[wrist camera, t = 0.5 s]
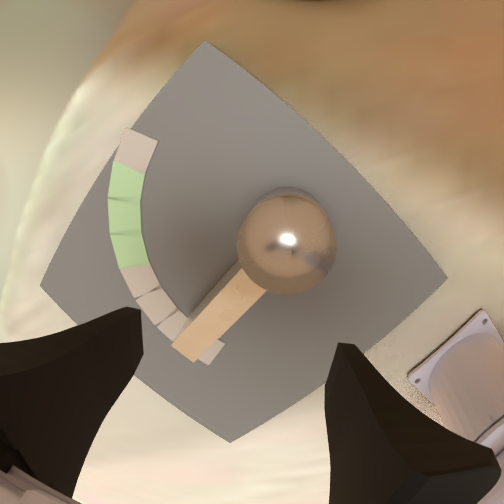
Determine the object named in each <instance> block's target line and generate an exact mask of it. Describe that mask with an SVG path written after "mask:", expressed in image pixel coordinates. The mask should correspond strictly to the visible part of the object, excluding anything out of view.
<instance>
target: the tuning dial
mask: <svg viewBox="0 0 504 504" xmlns="http://www.w3.org/2000/svg"><path fill="white" fill-rule="evenodd" d="M336 252H337V241H336V236H335V232H334V229H333V227H332V225H331V223H330V221H329V219H328V217H327V216H326V214H325V212H324V210H323V208H322V207H321V205H320V203H319V202H318V201H317V200H316V199H315V198H314V197H313V196H312V195H311V194H309V193H308V192H306V191H304V190H301V189H298V188H294V187H281V188H277V189H274V190H271V191H269V192H268V193H266V194H264V195H263V196H262V197H261V198H260V199H259V200H258V201H257V202H256V204H255V205H254V207H253V208H252V210H251V211H250V213H249V214H248V216H247V217H246V219H245V220H244V222H243V224H242V225H241V228H240V230H239V233H238V237H237V254H238V259H239V260H238V261H237V262H236V263H235V264H234V265H233V266H232V267H231V269H230V270H229V271H228V272H227V273H226V274H225V275H224V276H223V277H222V279H221V280H220V281H219V282H218V283H217V284H216V285H215V286H214V288H213V289H212V290H211V291H210V292H209V293H208V294H207V295H206V296H205V298H204V299H203V300H202V301H201V302H200V303H199V304H198V305H197V307H196V308H195V309H194V310H193V311H192V312H191V313H190V315H189V316H188V318H187V319H186V321H185V323H184V324H183V326H182V328H181V329H180V331H179V333H178V334H177V336H176V338H175V340H174V341H173V343H172V345H171V346H172V347H173V348H175V349H176V350H177V351H179V352H180V353H181V354H183V355H184V356H185V357H186V358H188V359H189V360H190V361H192V362H193V363H194V362H195V361H196V360H197V359H198V358H199V357H200V356H201V355H202V354H203V353H204V352H205V351H206V350H207V349H208V348H209V347H210V346H211V345H212V344H214V343H215V342H216V341H217V340H218V339H219V338H220V337H221V336H222V335H223V334H224V333H225V332H226V331H227V330H228V329H229V328H230V327H231V326H232V325H233V324H234V323H235V322H236V321H237V320H238V319H239V318H240V317H241V316H242V315H243V314H244V313H245V312H246V311H247V310H248V309H249V308H250V307H251V306H252V305H253V304H254V303H255V302H256V301H257V300H258V299H259V298H260V297H261V296H262V295H263V294H264V293H265V292H266V291H267V290H268V291H270V292H274V293H278V294H296V293H301V292H304V291H307V290H309V289H311V288H313V287H314V286H316V285H317V284H319V283H320V282H321V281H322V280H323V279H324V278H325V277H326V276H327V274H328V273H329V271H330V270H331V268H332V266H333V264H334V261H335V257H336Z"/></svg>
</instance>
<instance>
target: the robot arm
mask: <svg viewBox="0 0 504 504" xmlns="http://www.w3.org/2000/svg"><path fill="white" fill-rule="evenodd" d="M484 319H485V320H484ZM483 320H484V321H483ZM482 321H483V322H482ZM143 355H144V350H143V336H142V319H141V310H140V309H136V308H132V307H123V308H120V309H117V310H115V311H112V312H110V313H107V314H105V315H103V316H100V317H98V318H95V319H93V320H91V321H88V322H86V323H83V324H80V325H78V326H75V327H72V328H69V329H67V330H64V331H61V332H58V333H55V334H51V335H47V336H43V337H39V338H35V339H29V340H23V341H17V342H9V343H0V504H81V503H79V502H77V501H75V500H73V499H72V496H73V493H74V490H75V486H76V483H77V480H78V477H79V474H80V472H81V469H82V466H83V464H84V461H85V458H86V456H87V454H88V451H89V449H90V447H91V445H92V442H93V440H94V438H95V436H96V434H97V432H98V430H99V428H100V426H101V424H102V422H103V420H104V418H105V417H106V415H107V413H108V412H109V410H110V409H111V407H112V406H113V405H114V403H115V402H116V400H117V399H118V397H119V396H120V394H121V393H122V391H123V390H124V389H125V387H126V386H127V384H128V383H129V381H130V380H131V378H132V377H133V375H134V373H135V371H136V369H137V367H138V365H139V363H140V361H141V359H142V357H143ZM418 378H419V379H418ZM416 379H418V380H416ZM408 380H409V381H410V382H411V383H412V384H413V385H414V386H415V387H416V388H417V389H418V390H419V391H420V392H421V393H422V394H423V395H424V396H425V397H426V398H427V399H428V400H429V401H430V402H432V403H433V404H434V405H435V406H436V408H437V410H438V412H439V415H440V417H441V419H442V422H443V424H444V426H445V427H443V426H441V425H440V424H438V423H437V422H435V421H433V420H432V419H430V418H429V417H427V416H426V415H425V414H423V413H422V412H420V411H419V410H418V409H417V408H415V407H414V406H413V405H412V404H411V403H409V402H408V401H407V400H406V399H405V398H403V397H402V396H401V395H400V394H399V393H398V392H397V391H396V390H395V389H394V388H393V387H392V386H391V385H390V384H389V383H388V382H387V381H386V380H385V379H384V378H383V376H382V375H381V374H380V373H379V372H378V371H377V370H376V369H375V367H374V366H373V365H372V364H371V363H370V362H369V360H368V359H367V358H366V357H365V356H364V354H363V353H362V352H361V351H360V350H359V348H358V347H357V346H356V345H355V344H349V343H340V342H338V344H337V348H336V351H335V355H334V358H333V361H332V365H331V368H330V371H329V374H328V377H327V381H326V384H325V417H326V426H327V435H328V443H329V452H330V466H331V472H330V496H329V504H504V342H503V340H502V338H501V336H500V334H499V333H498V331H497V329H496V328H495V326H494V324H493V322H492V321H491V319H490V317H489V316H488V314H487V313H486V312H485V311H484V310H480V311H479V312H478V313H477V314H476V315H475V316H474V317H473V318H472V319H470V320H469V321H468V322H467V323H466V324H465V325H464V326H463V327H462V328H461V329H460V330H459V331H458V332H457V333H456V334H455V335H454V336H453V337H451V338H450V339H449V340H448V341H447V342H446V343H445V344H444V345H443V346H441V347H440V348H439V349H438V350H437V351H436V352H434V353H433V354H432V355H431V356H430V357H429V358H427V359H426V360H425V361H424V362H423V363H421V364H420V365H419V366H418V367H416V368H415V369H414V370H413V371H411V372H410V373H409V375H408Z"/></svg>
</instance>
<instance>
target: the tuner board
mask: <svg viewBox="0 0 504 504" xmlns="http://www.w3.org/2000/svg"><path fill="white" fill-rule="evenodd" d="M281 187H294V188H298V189H301V190H304V191H306V192H308V193H309V194H311V195H312V196H313V197H314V198H315V199H316V200H317V201H318V202H319V203H320V205H321V207H322V208H323V210H324V212H325V214H326V216H327V217H328V219H329V221H330V223H331V225H332V227H333V229H334V232H335V236H336V241H337V252H336V257H335V261H334V264H333V266H332V268H331V270H330V271H329V273H328V274H327V276H326V277H325V278H324V279H323V280H322V281H321V282H320V283H319V284H317V285H316V286H314V287H313V288H311V289H309V290H307V291H304V292H301V293H296V294H278V293H274V292H270V291H268V290H267V291H266V292H265V293H264V294H263V295H262V296H261V297H260V298H259V299H258V300H257V301H256V302H255V303H254V304H253V305H252V306H251V307H250V308H249V309H248V310H247V311H246V312H245V313H244V314H243V315H242V316H241V317H240V318H239V319H238V320H237V321H236V322H235V323H234V324H233V325H232V326H231V327H230V328H229V329H228V330H227V331H226V332H225V333H224V334H223V335H222V336H221V337H220V338H219V339H218V340H217V341H216V342H215V343H214V344H212V345H211V346H210V347H209V348H208V349H207V350H206V351H205V352H204V353H203V354H202V355H201V356H200V357H199V358H198V359H197V360H196V361H195V362H194V363H193V362H192V361H190V360H189V359H188V358H186V357H185V356H184V355H183V354H181V353H180V352H179V351H177V350H176V349H175V348H173V347H172V346H171V345H172V343H173V341H174V340H175V338H176V336H177V334H178V333H179V331H180V329H181V328H182V326H183V324H184V323H185V321H186V319H187V318H188V316H189V315H190V313H191V312H192V311H193V310H194V309H195V308H196V307H197V305H198V304H199V303H200V302H201V301H202V300H203V299H204V298H205V296H206V295H207V294H208V293H209V292H210V291H211V290H212V289H213V288H214V286H215V285H216V284H217V283H218V282H219V281H220V280H221V279H222V277H223V276H224V275H225V274H226V273H227V272H228V271H229V270H230V269H231V267H232V266H233V265H234V264H235V263H236V262H237V261H238V260H239V259H238V254H237V237H238V233H239V230H240V228H241V225H242V224H243V222H244V220H245V219H246V217H247V216H248V214H249V213H250V211H251V210H252V208H253V207H254V205H255V204H256V202H257V201H258V200H259V199H260V198H261V197H262V196H263V195H264V194H266V193H268V192H269V191H271V190H274V189H277V188H281ZM447 279H448V278H447V276H446V275H445V274H444V272H443V271H442V270H441V268H440V267H439V266H438V264H437V263H436V262H435V260H434V259H433V258H432V257H431V255H430V254H429V253H428V251H427V250H426V249H425V248H424V246H423V245H422V244H421V243H420V241H419V240H418V239H417V238H416V237H415V235H414V234H413V233H412V232H411V230H410V229H409V228H408V227H407V226H406V225H405V223H404V222H403V221H402V220H401V219H400V217H399V216H398V215H397V214H396V213H395V212H394V211H393V209H392V208H391V207H390V206H389V205H388V204H387V203H386V202H385V200H384V199H383V198H382V197H381V196H380V195H379V194H378V193H377V192H376V191H375V189H374V188H373V187H372V186H371V185H370V184H369V183H368V182H367V181H366V180H365V179H364V178H363V177H362V176H361V175H360V173H359V172H358V171H357V170H356V169H355V168H354V167H353V166H352V165H351V164H350V163H349V162H348V161H347V160H346V159H345V158H344V157H343V156H342V155H341V154H340V153H339V152H338V151H337V150H336V149H335V148H334V147H333V146H332V145H331V144H330V143H329V142H328V141H326V140H325V139H324V138H323V137H322V136H321V135H320V134H319V133H318V132H317V131H316V130H315V129H314V128H313V127H312V126H311V125H309V124H308V123H307V122H306V121H305V120H304V119H303V118H302V117H301V116H299V115H298V114H297V113H296V112H295V111H294V110H293V109H292V108H290V107H289V106H288V105H287V104H286V103H285V102H284V101H282V100H281V99H280V98H279V97H278V96H277V95H275V94H274V93H273V92H272V91H271V90H269V89H268V88H267V87H266V86H265V85H263V84H262V83H261V82H260V81H258V80H257V79H256V78H255V77H253V76H252V75H251V74H250V73H248V72H247V71H246V70H245V69H243V68H242V67H241V66H239V65H238V64H237V63H235V62H234V61H233V60H231V59H230V58H229V57H227V56H226V55H225V54H223V53H222V52H221V51H219V50H218V49H217V48H215V47H214V46H212V45H211V44H210V43H208V42H207V41H204V42H203V43H202V44H201V45H200V46H199V47H198V48H197V49H196V50H195V51H194V52H193V54H192V55H191V56H190V57H189V58H188V59H187V60H186V61H185V62H184V63H183V65H182V66H181V67H180V68H179V69H178V70H177V71H176V73H175V74H174V75H173V76H172V77H171V78H170V80H169V81H168V82H167V83H166V84H165V86H164V87H163V88H162V89H161V90H160V92H159V93H158V94H157V95H156V97H155V98H154V99H153V100H152V102H151V103H150V104H149V105H148V107H147V108H146V109H145V110H144V112H143V113H142V114H141V116H140V117H139V118H138V120H137V121H136V122H135V124H134V125H133V126H132V128H131V129H129V128H126V130H125V132H124V135H123V137H122V140H121V142H120V145H119V146H118V147H117V149H116V150H115V152H114V153H113V155H112V156H111V158H110V159H109V161H108V162H107V164H106V165H105V167H104V168H103V170H102V171H101V173H100V175H99V176H98V178H97V179H96V181H95V183H94V184H93V186H92V187H91V189H90V191H89V192H88V194H87V196H86V197H85V199H84V201H83V202H82V204H81V206H80V208H79V209H78V211H77V213H76V215H75V216H74V218H73V220H72V222H71V224H70V225H69V227H68V229H67V231H66V233H65V235H64V237H63V239H62V240H61V242H60V244H59V246H58V248H57V250H56V252H55V254H54V256H53V258H52V260H51V262H50V265H49V267H48V269H47V271H46V273H45V275H44V277H43V280H42V282H41V284H40V286H41V287H42V288H43V290H44V291H45V292H46V293H47V294H48V295H49V296H50V297H51V298H52V299H53V300H54V301H55V302H56V303H57V304H58V305H59V307H60V308H61V309H62V310H63V311H64V312H65V313H66V314H67V315H68V316H69V317H70V318H71V319H72V320H73V321H74V322H75V323H76V324H77V325H80V324H83V323H86V322H88V321H91V320H93V319H95V318H98V317H100V316H103V315H105V314H107V313H110V312H112V311H115V310H117V309H120V308H123V307H132V308H136V309H140V310H141V319H142V336H143V350H144V355H143V357H142V359H141V361H140V363H139V365H138V367H137V369H136V371H135V373H134V375H135V376H136V377H137V378H138V379H140V380H141V381H142V382H143V383H145V384H146V385H147V386H149V387H150V388H151V389H152V390H154V391H155V392H156V393H158V394H159V395H160V396H162V397H163V398H164V399H166V400H167V401H168V402H170V403H171V404H172V405H174V406H175V407H177V408H178V409H179V410H181V411H182V412H184V413H185V414H187V415H188V416H189V417H191V418H192V419H194V420H195V421H197V422H198V423H200V424H201V425H203V426H204V427H206V428H207V429H209V430H210V431H212V432H213V433H215V434H217V435H218V436H220V437H221V438H223V439H224V440H226V441H228V442H229V443H231V442H232V441H234V440H236V439H238V438H240V437H241V436H243V435H245V434H247V433H248V432H250V431H252V430H253V429H255V428H257V427H258V426H260V425H262V424H263V423H265V422H267V421H268V420H270V419H271V418H273V417H275V416H276V415H278V414H279V413H281V412H283V411H284V410H286V409H287V408H289V407H290V406H292V405H293V404H295V403H296V402H298V401H299V400H301V399H302V398H304V397H305V396H307V395H308V394H310V393H311V392H313V391H314V390H315V389H317V388H318V387H320V386H321V385H322V384H324V383H325V382H326V381H327V377H328V374H329V371H330V368H331V365H332V361H333V358H334V355H335V351H336V348H337V344H338V342H340V343H349V344H355V345H356V346H357V347H358V348H359V350H360V351H361V352H362V353H363V354H364V353H365V352H366V351H367V350H369V349H370V348H371V347H372V346H374V345H375V344H376V343H377V342H378V341H380V340H381V339H382V338H383V337H384V336H386V335H387V334H388V333H389V332H390V331H392V330H393V329H394V328H395V327H396V326H397V325H398V324H400V323H401V322H402V321H403V320H404V319H405V318H406V317H408V316H409V315H410V314H411V313H412V312H413V311H414V310H415V309H416V308H417V307H419V306H420V305H421V304H422V303H423V302H424V301H425V300H426V299H427V298H428V297H429V296H430V295H431V294H432V293H433V292H434V291H435V290H436V289H437V288H439V287H440V286H441V285H442V284H443V283H444V282H445V281H446V280H447Z"/></svg>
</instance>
